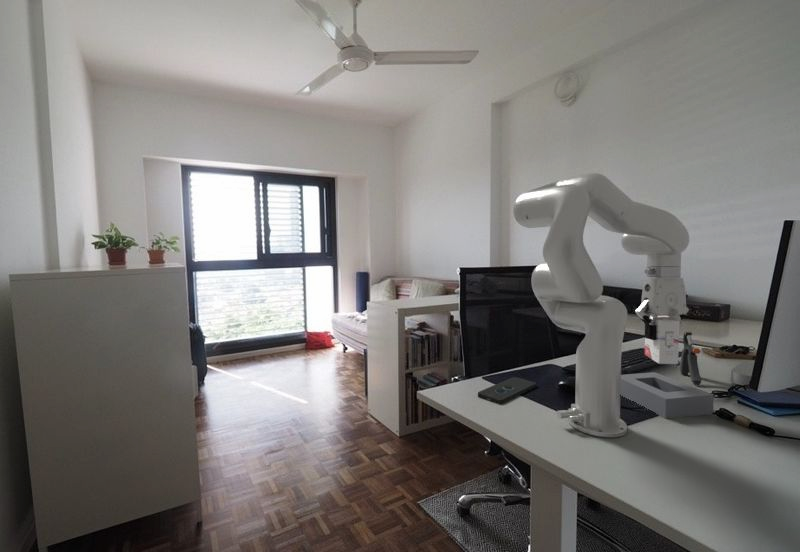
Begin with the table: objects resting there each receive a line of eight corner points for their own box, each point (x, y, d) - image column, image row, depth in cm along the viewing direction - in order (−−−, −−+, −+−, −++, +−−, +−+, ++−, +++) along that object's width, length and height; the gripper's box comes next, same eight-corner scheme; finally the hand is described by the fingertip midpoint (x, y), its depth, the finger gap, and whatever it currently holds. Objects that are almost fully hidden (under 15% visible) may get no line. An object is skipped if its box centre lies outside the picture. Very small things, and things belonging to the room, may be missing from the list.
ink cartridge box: (643, 355, 107) (644, 304, 106) (662, 355, 106) (664, 304, 105) (658, 364, 98) (660, 309, 97) (679, 364, 97) (681, 309, 96)
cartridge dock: (665, 418, 93) (665, 399, 92) (613, 391, 111) (613, 375, 110) (712, 413, 95) (713, 394, 95) (654, 388, 113) (654, 372, 112)
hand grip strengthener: (693, 386, 114) (695, 338, 113) (679, 373, 126) (680, 329, 125) (702, 387, 113) (704, 338, 112) (687, 374, 125) (688, 330, 124)
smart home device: (476, 392, 109) (513, 376, 122) (476, 397, 109) (513, 381, 122) (500, 400, 103) (537, 382, 116) (500, 406, 103) (537, 388, 116)
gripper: (646, 274, 95) (644, 343, 97) (704, 272, 98) (701, 339, 99) (624, 273, 103) (623, 336, 104) (678, 271, 105) (676, 333, 107)
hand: (661, 337), depth 102 cm, fingers closed on ink cartridge box, 6 cm apart
